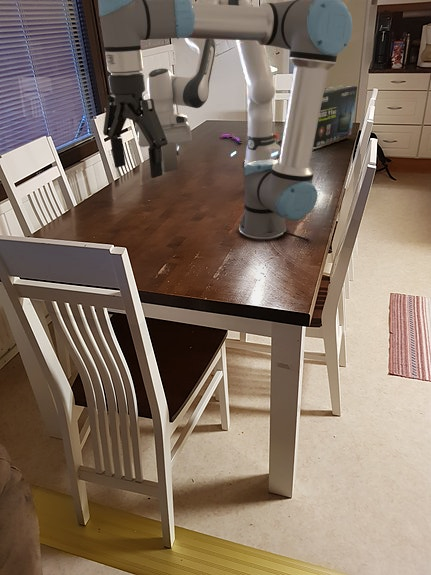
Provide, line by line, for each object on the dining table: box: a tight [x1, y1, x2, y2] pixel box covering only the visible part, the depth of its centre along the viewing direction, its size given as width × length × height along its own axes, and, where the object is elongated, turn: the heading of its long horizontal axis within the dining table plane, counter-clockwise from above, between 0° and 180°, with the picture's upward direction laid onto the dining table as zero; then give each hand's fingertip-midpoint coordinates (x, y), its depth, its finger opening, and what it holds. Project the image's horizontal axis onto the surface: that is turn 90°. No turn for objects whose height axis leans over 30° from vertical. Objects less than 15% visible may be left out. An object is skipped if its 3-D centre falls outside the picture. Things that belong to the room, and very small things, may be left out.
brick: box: [161, 143, 179, 173], centre depth 175 cm, size 5×6×10 cm
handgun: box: [220, 133, 243, 145], centre depth 256 cm, size 21×8×2 cm, turn 11°
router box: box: [313, 84, 358, 147], centre depth 238 cm, size 36×11×27 cm, turn 134°
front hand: (138, 171), depth 109 cm, fingers open, 13 cm apart
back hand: (166, 156), depth 175 cm, fingers closed on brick, 7 cm apart
